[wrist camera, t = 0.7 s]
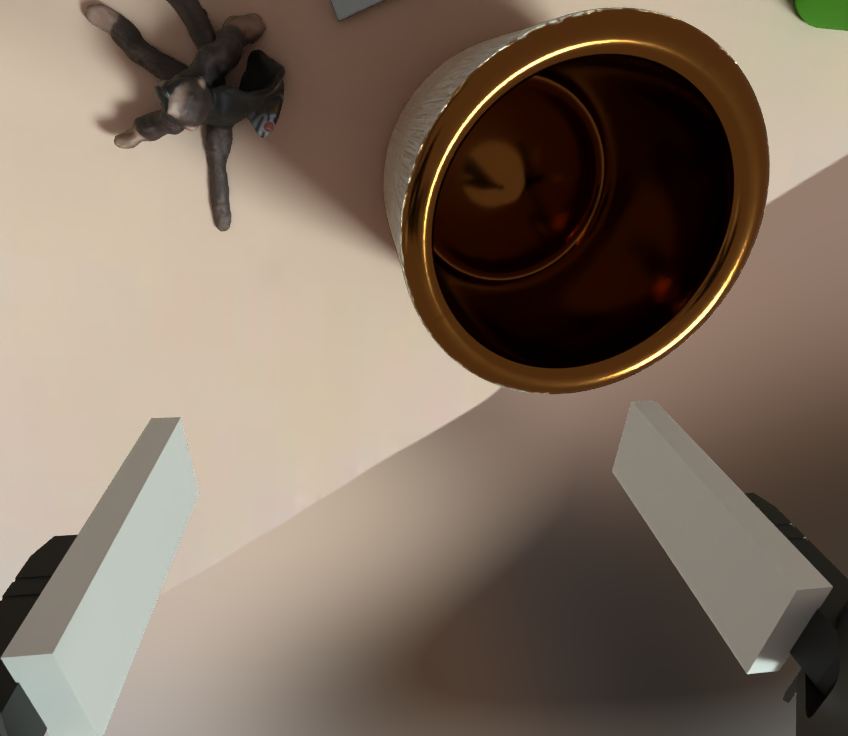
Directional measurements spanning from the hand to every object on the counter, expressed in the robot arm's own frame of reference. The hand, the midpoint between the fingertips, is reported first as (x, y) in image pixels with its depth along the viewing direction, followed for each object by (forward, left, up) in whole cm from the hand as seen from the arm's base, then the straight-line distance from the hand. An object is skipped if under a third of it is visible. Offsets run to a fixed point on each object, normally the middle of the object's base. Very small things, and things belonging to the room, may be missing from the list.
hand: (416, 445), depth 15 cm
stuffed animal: (-12, -7, -27) cm, 30 cm away
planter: (0, +10, -26) cm, 28 cm away
